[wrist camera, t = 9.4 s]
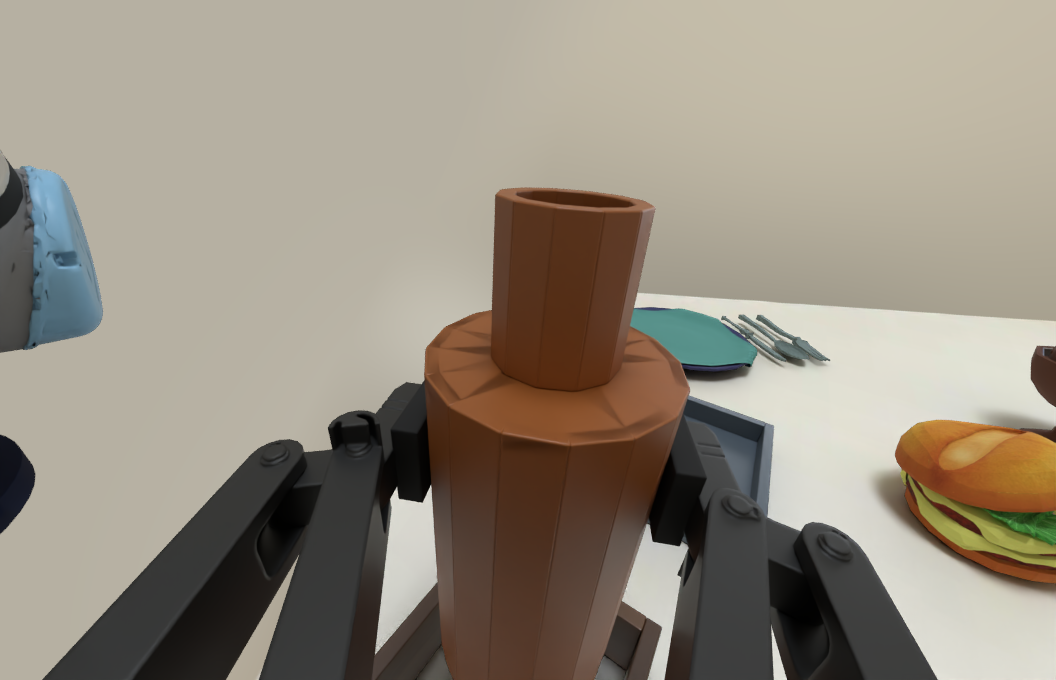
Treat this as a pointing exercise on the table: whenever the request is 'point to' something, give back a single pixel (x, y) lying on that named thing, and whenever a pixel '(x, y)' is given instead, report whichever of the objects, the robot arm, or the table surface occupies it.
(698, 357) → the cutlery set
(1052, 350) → the ice cream bowl
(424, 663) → the tray
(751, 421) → the tray
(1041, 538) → the cheeseburger
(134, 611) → the robot arm
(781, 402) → the table surface
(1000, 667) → the table surface
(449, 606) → the bottle
